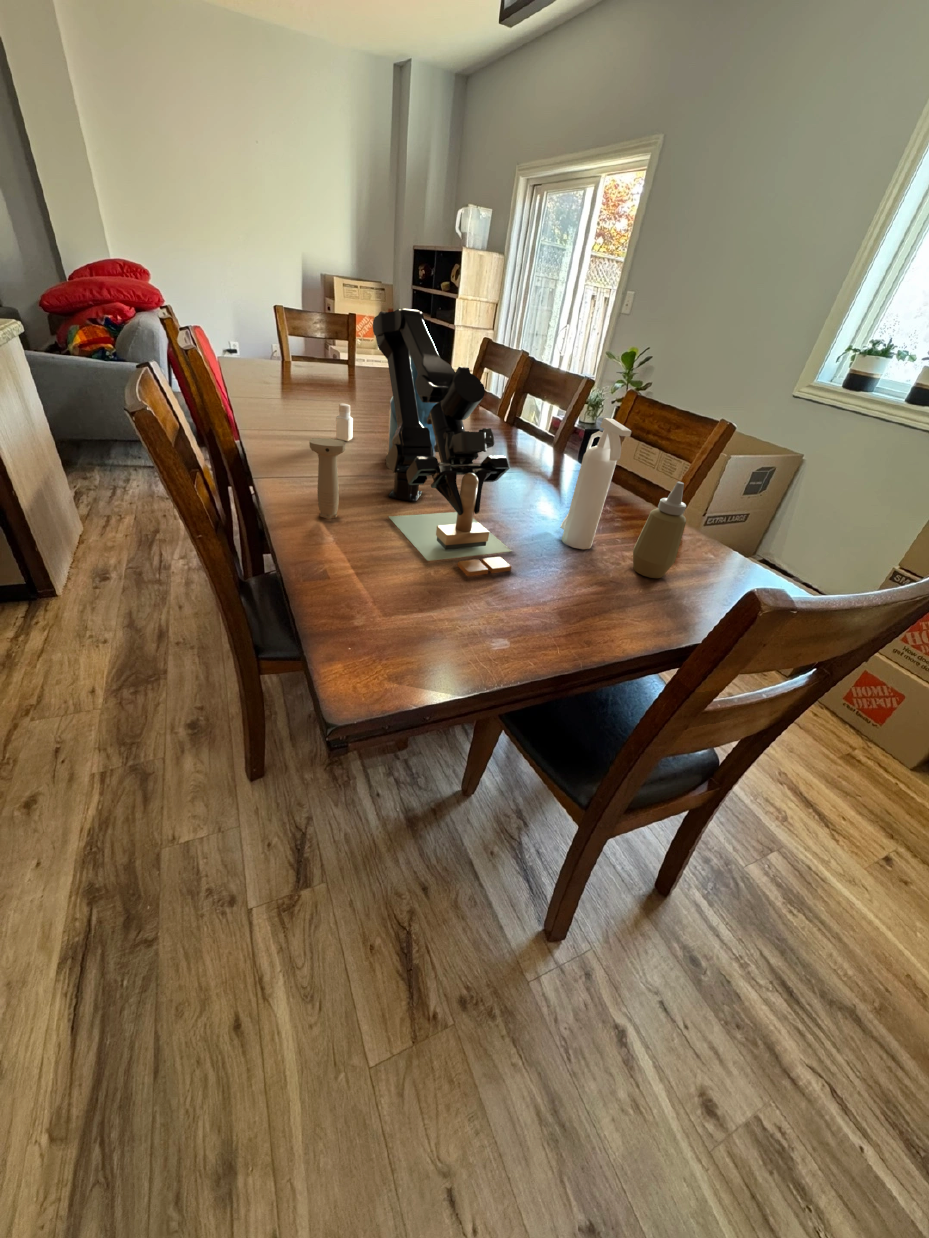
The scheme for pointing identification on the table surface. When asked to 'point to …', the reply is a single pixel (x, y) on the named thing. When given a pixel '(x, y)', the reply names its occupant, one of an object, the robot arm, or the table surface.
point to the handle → (327, 474)
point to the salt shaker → (344, 423)
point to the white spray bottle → (593, 485)
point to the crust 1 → (472, 567)
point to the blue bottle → (422, 414)
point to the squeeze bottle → (661, 536)
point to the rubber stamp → (464, 521)
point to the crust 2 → (496, 564)
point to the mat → (425, 539)
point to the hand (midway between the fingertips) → (469, 513)
